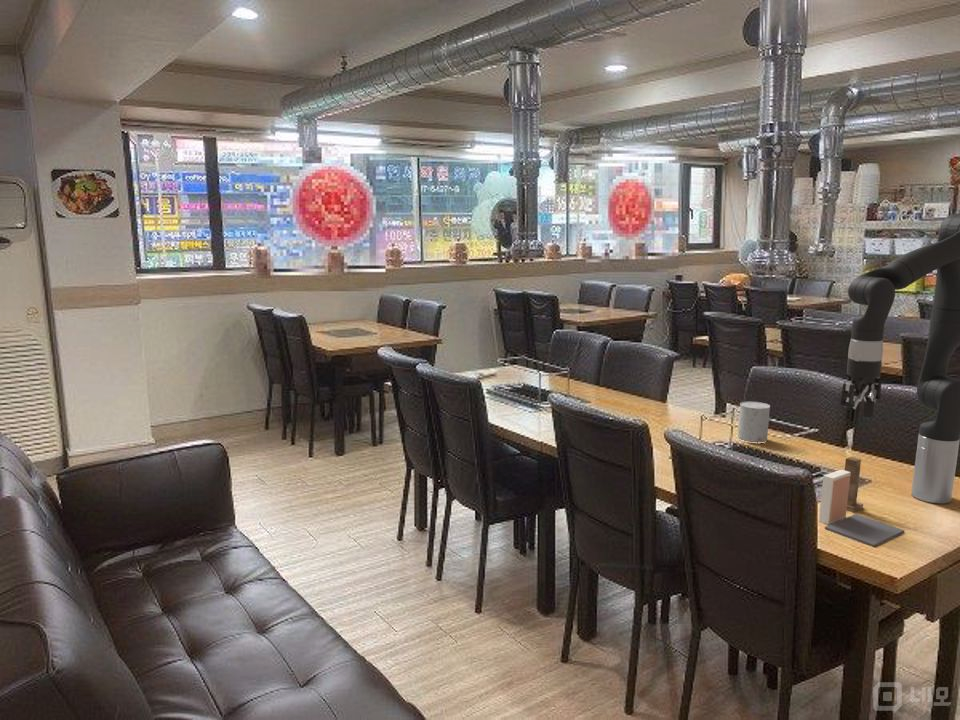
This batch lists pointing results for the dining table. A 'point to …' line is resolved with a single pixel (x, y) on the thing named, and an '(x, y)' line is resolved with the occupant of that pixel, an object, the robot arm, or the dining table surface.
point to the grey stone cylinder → (753, 421)
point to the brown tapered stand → (853, 483)
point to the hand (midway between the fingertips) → (858, 419)
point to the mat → (864, 530)
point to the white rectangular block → (834, 496)
